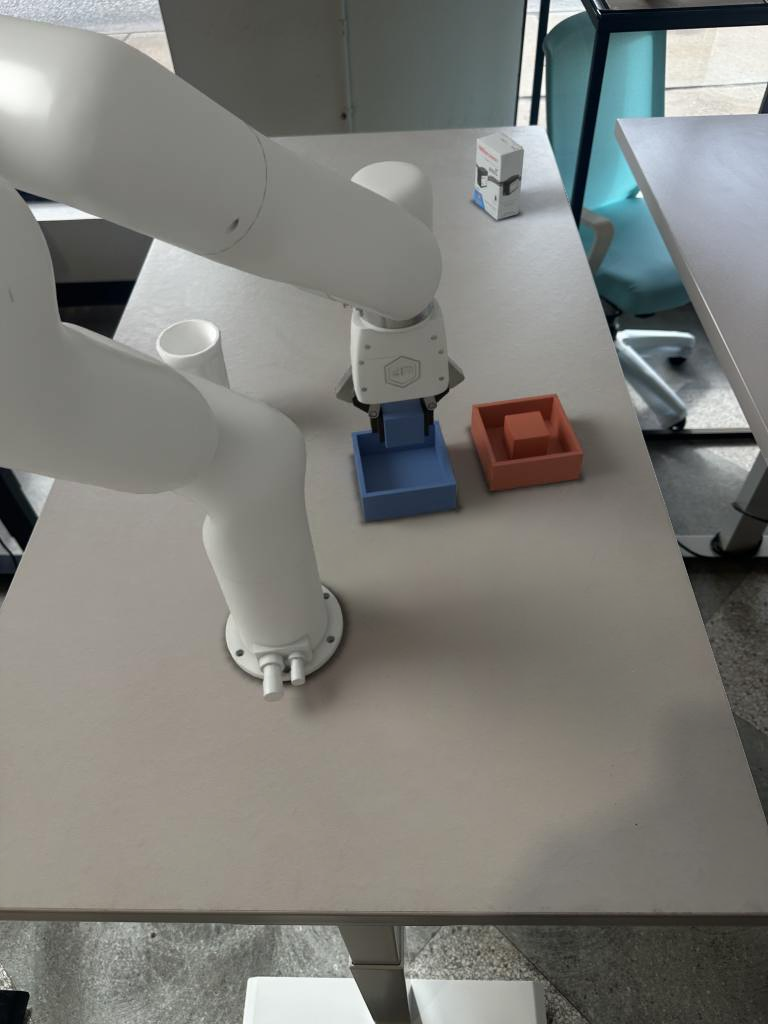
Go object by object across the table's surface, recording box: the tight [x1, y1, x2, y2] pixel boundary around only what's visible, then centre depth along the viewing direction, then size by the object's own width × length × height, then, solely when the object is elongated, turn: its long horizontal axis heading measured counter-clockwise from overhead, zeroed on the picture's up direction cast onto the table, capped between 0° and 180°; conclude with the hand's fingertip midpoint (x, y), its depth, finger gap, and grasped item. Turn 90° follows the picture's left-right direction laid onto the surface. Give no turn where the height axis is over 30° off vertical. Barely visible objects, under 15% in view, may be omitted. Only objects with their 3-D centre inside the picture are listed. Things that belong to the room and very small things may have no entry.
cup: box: [155, 318, 231, 389], centre depth 96 cm, size 8×8×14 cm
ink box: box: [473, 131, 525, 221], centre depth 131 cm, size 8×5×12 cm, turn 25°
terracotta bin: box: [470, 393, 585, 492], centre depth 93 cm, size 11×11×4 cm
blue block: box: [381, 398, 424, 448], centre depth 84 cm, size 4×4×4 cm
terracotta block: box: [503, 411, 550, 461], centre depth 92 cm, size 4×4×4 cm
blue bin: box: [351, 420, 458, 523], centre depth 90 cm, size 11×11×4 cm
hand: (402, 430), depth 86 cm, fingers closed on blue block, 4 cm apart
